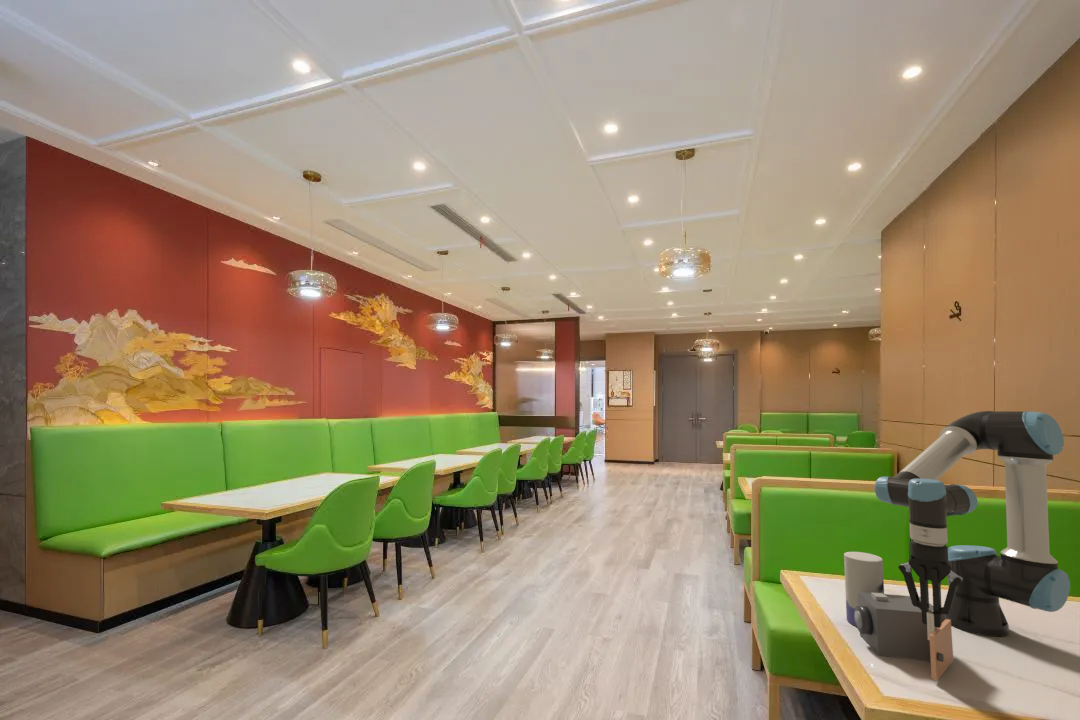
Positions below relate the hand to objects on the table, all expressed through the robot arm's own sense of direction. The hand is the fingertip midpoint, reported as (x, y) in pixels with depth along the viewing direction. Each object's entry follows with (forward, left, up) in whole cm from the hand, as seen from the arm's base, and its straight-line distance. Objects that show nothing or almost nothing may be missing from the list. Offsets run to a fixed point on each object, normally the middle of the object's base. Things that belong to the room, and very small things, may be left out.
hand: (932, 638), depth 125 cm
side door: (-3, -1, -8) cm, 8 cm away
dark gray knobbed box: (+3, -14, -9) cm, 16 cm away
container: (+4, -29, -9) cm, 30 cm away
